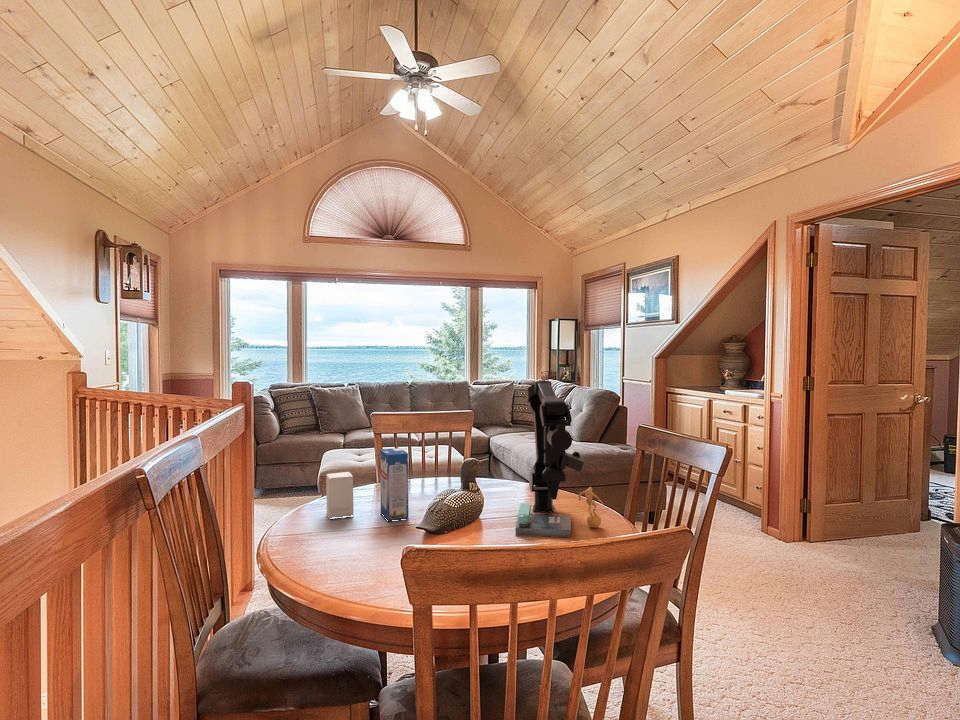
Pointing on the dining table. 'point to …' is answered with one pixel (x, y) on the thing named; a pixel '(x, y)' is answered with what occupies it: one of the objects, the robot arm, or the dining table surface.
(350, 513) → the supplement box
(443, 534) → the dining table surface
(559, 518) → the server tray
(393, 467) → the milk carton
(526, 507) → the swing bar
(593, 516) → the figurine
